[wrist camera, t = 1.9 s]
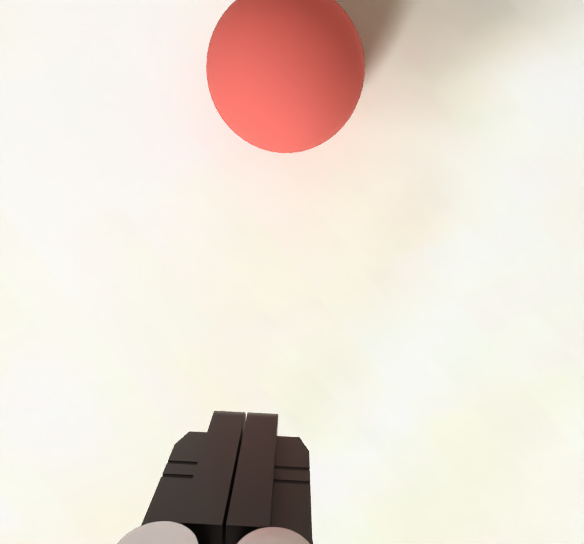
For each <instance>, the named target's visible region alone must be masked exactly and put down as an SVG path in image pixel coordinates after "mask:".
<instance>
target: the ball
mask: <svg viewBox="0 0 584 544" xmlns="http://www.w3.org/2000/svg"><path fill="white" fill-rule="evenodd" d="M206 68H207V81H208V87H209V91H210V94H211V97H212V100H213V102H214V105H215V107H216V109H217V111H218V112H219V114H220V116H221V117H222V119H223V120H224V121H225V123H226V124H227V125H228V126H229V127H230V128H231V129H232V130H233V131H234V132H235V133H236V134H237V135H238V136H240V137H241V138H242V139H243V140H245V141H247V142H248V143H250V144H252V145H254V146H256V147H258V148H261V149H264V150H268V151H271V152H279V153H293V152H300V151H304V150H308V149H311V148H313V147H316V146H318V145H320V144H322V143H323V142H325V141H327V140H328V139H330V138H331V137H332V136H333V135H335V134H336V133H337V132H338V131H339V130H340V129H341V128H342V127H343V126H344V125H345V123H346V122H347V121H348V119H349V118H350V116H351V115H352V113H353V111H354V109H355V107H356V105H357V103H358V100H359V98H360V94H361V91H362V87H363V81H364V69H365V63H364V53H363V49H362V44H361V41H360V38H359V35H358V32H357V30H356V28H355V26H354V24H353V22H352V21H351V19H350V18H349V16H348V15H347V13H346V12H345V11H344V10H343V8H342V7H341V6H340V5H339V4H338V3H337V2H336V1H335V0H236V1H235V2H234V3H232V4H231V5H230V6H229V8H228V9H227V10H226V11H225V12H224V14H223V15H222V17H221V18H220V20H219V21H218V23H217V25H216V27H215V29H214V31H213V34H212V37H211V40H210V43H209V48H208V53H207V65H206Z"/></svg>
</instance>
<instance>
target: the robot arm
mask: <svg viewBox="0 0 584 544" xmlns="http://www.w3.org/2000/svg"><path fill="white" fill-rule="evenodd" d="M277 428H278V414H266V413H247V418H246V413H245V412H226V411H214V413H213V416H212V419H211V422H210V426H209V429H208V432H188V433H187V434H186V435H185V436H184V437H183V438H182V439H180V440H179V441H178V442H177V443H176V444H175V445H174V448H173V450H172V452H171V455H170V457H169V460H168V463H167V465H166V467H165V469H164V472H163V476H162V477H161V479H160V481H159V484H158V486H157V489H156V491H155V494H154V496H153V498H152V501H151V503H150V506H149V508H148V510H147V513H146V515H145V518H144V520H143V522H142V525H141V526H140V527H138V528H135V529H134V530H132V531H131V532H129V533H128V534H126V535H125V536H124V537H123V538H122V539H121V540H120V541H119V542H118V544H313V541H312V523H311V495H310V471H309V469H310V466H309V451H308V449H307V448H306V446H305V445H304V443H303V442H302V440H301V439H300V437H284V436H277Z"/></svg>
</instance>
